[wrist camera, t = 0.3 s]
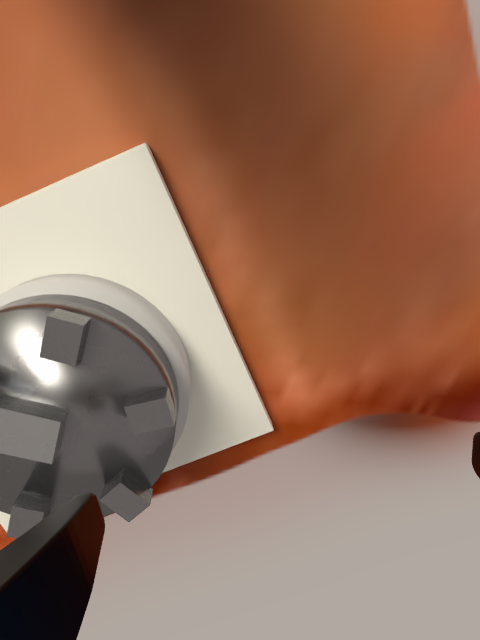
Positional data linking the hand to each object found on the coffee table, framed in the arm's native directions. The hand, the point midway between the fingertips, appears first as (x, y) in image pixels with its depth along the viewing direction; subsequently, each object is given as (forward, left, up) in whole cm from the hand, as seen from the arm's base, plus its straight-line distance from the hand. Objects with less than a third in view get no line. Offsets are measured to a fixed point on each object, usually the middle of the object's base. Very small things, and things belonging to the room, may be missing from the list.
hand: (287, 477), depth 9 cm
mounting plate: (-1, -10, -14) cm, 17 cm away
